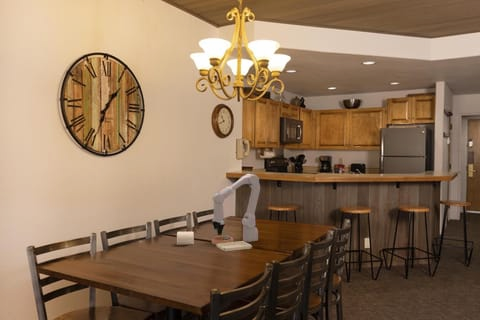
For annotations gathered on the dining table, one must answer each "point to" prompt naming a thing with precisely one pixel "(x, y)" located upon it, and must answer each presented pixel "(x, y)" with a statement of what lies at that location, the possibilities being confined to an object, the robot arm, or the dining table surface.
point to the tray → (233, 246)
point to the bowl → (220, 240)
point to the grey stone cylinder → (225, 237)
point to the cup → (185, 238)
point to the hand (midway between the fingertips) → (218, 234)
